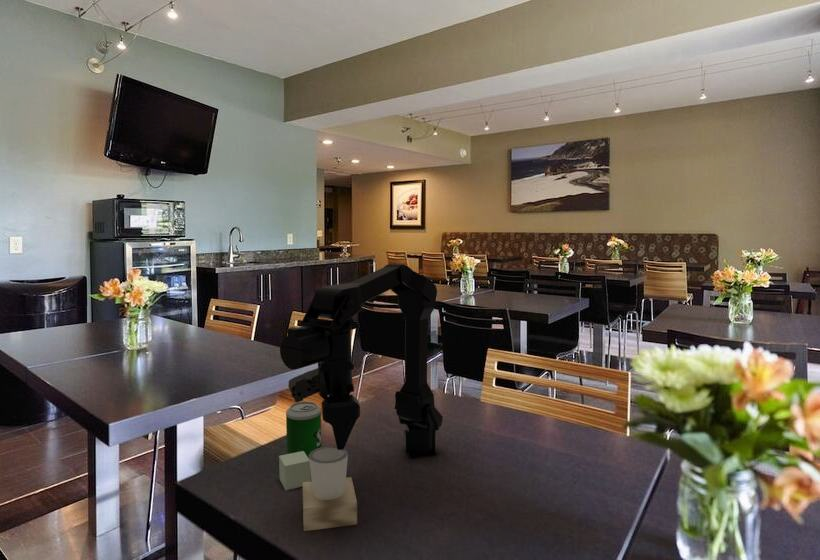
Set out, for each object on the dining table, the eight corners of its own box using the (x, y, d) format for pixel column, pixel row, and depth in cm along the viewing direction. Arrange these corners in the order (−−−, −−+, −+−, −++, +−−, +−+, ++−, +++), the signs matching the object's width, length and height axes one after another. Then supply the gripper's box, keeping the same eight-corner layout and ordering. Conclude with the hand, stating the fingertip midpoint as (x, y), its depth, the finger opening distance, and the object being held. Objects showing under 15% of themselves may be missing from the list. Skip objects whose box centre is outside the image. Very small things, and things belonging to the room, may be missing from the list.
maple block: (351, 497, 94) (351, 477, 94) (357, 524, 86) (356, 502, 85) (303, 502, 92) (302, 482, 92) (303, 531, 84) (303, 508, 83)
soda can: (313, 468, 106) (312, 413, 105) (281, 464, 108) (279, 410, 106) (326, 452, 113) (325, 401, 112) (295, 449, 115) (294, 399, 114)
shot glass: (315, 505, 84) (314, 466, 83) (304, 487, 90) (304, 450, 90) (353, 496, 87) (353, 457, 86) (341, 478, 93) (340, 442, 93)
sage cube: (303, 474, 104) (303, 450, 103) (310, 484, 99) (310, 460, 99) (279, 479, 101) (279, 455, 101) (285, 490, 97) (284, 466, 96)
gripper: (290, 347, 98) (293, 423, 99) (289, 374, 80) (293, 467, 81) (347, 343, 100) (349, 417, 102) (359, 369, 82) (361, 459, 84)
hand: (338, 438), depth 92 cm, fingers open, 9 cm apart
